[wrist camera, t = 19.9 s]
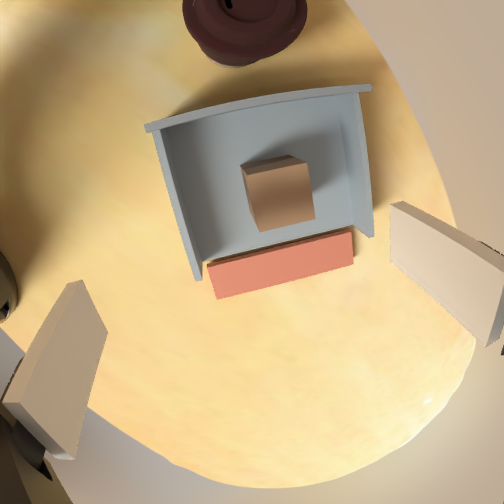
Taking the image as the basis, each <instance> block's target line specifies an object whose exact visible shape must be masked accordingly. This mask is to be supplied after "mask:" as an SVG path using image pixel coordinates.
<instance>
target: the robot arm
mask: <svg viewBox="0 0 504 504" xmlns="http://www.w3.org/2000/svg"><path fill="white" fill-rule="evenodd" d="M389 212H390V262H391V263H393V264H394V265H395V266H396V267H397V268H399V269H400V270H401V271H402V272H403V273H404V274H406V275H407V276H408V277H409V278H410V279H411V280H413V281H414V282H415V283H416V284H417V285H418V286H419V287H421V288H422V289H423V290H424V291H425V292H426V293H427V294H429V295H430V296H431V297H432V298H433V299H434V300H435V301H436V302H437V303H439V304H440V305H441V306H442V307H443V308H444V309H445V310H446V311H447V312H448V313H449V314H451V315H452V316H453V317H454V318H455V319H456V320H457V321H458V322H459V323H460V324H461V325H462V326H463V327H464V328H465V329H466V330H468V331H469V332H470V333H471V334H472V335H473V336H474V337H475V338H476V339H477V340H478V341H479V342H480V343H481V344H482V345H483V346H484V347H487V346H488V345H490V344H492V343H493V342H495V341H496V340H498V339H499V338H500V335H501V332H502V329H503V326H504V255H503V254H501V255H500V253H499V252H498V251H496V250H493V249H492V248H491V247H490V246H487V245H486V244H484V243H483V242H480V241H477V240H475V239H474V238H472V237H470V236H468V235H467V234H465V233H463V232H461V231H460V230H458V229H456V228H454V227H452V226H451V225H449V224H447V223H445V222H443V221H441V220H439V219H438V218H436V217H434V216H432V215H430V214H428V213H426V212H424V211H422V210H420V209H418V208H416V207H414V206H412V205H410V204H408V203H406V202H404V201H401V202H397V203H393V204H389ZM17 298H18V292H17V285H16V281H15V278H14V275H13V272H12V270H11V268H10V266H9V264H8V262H7V261H6V259H5V257H4V256H3V255H2V253H1V252H0V324H1V323H3V322H4V321H6V320H7V319H8V317H9V316H10V315H11V313H12V312H13V311H14V309H15V307H16V304H17ZM107 334H108V331H107V330H106V328H105V326H104V324H103V322H102V320H101V318H100V316H99V314H98V312H97V310H96V308H95V306H94V304H93V302H92V300H91V297H90V295H89V293H88V291H87V289H86V287H85V284H84V282H83V280H79V281H75V282H72V283H68V284H67V285H66V287H65V288H64V290H63V292H62V293H61V295H60V296H59V298H58V299H57V301H56V303H55V304H54V306H53V307H52V309H51V311H50V312H49V314H48V316H47V317H46V319H45V321H44V322H43V324H42V326H41V328H40V329H39V331H38V333H37V335H36V336H35V338H34V340H33V342H32V343H31V345H30V347H29V349H28V351H27V353H26V354H25V356H24V357H23V358H22V359H21V360H20V361H19V363H18V365H17V367H16V369H15V371H14V374H13V375H12V377H11V379H10V382H9V383H8V385H7V387H6V389H5V391H4V393H3V395H2V397H1V400H0V504H73V503H72V501H71V500H70V498H69V497H68V495H67V493H66V492H65V490H64V488H63V487H62V485H61V483H60V481H59V479H58V478H57V476H56V474H55V472H54V470H53V468H52V467H51V464H50V463H49V462H48V461H47V459H46V458H44V453H45V449H46V450H47V451H49V452H50V453H51V454H52V455H53V456H54V457H55V458H56V459H67V460H68V459H69V460H75V457H76V452H77V447H78V442H79V438H80V433H81V428H82V424H83V420H84V416H85V412H86V408H87V404H88V400H89V396H90V392H91V388H92V385H93V381H94V377H95V374H96V370H97V367H98V363H99V360H100V357H101V353H102V350H103V347H104V344H105V341H106V337H107ZM501 355H504V346H503V348H502V351H501Z"/></svg>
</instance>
